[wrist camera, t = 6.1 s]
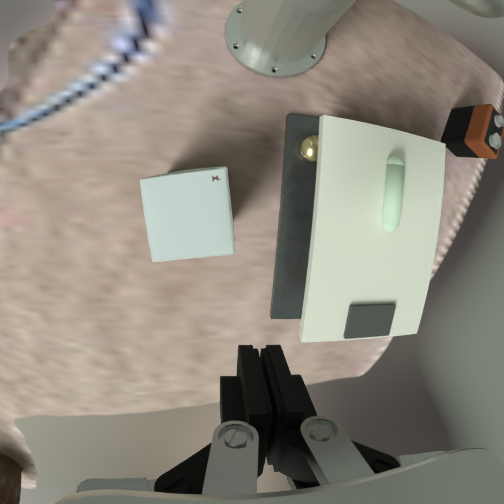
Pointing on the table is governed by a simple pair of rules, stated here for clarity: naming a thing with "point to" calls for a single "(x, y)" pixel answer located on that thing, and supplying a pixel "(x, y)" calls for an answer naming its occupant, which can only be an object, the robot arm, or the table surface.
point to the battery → (474, 132)
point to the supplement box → (188, 214)
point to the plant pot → (9, 481)
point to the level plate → (371, 231)
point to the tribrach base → (295, 216)
